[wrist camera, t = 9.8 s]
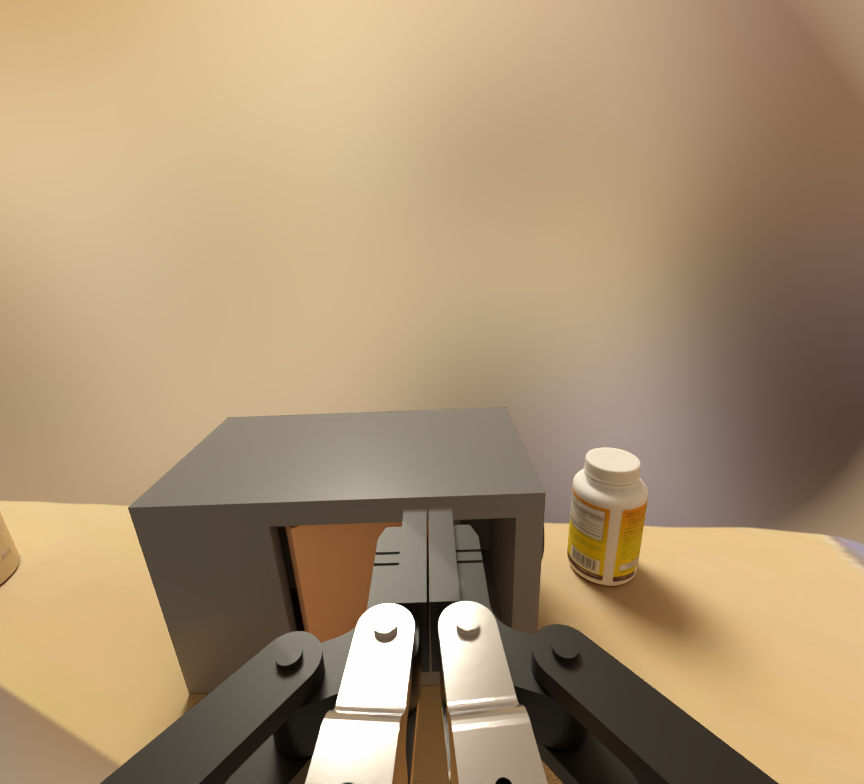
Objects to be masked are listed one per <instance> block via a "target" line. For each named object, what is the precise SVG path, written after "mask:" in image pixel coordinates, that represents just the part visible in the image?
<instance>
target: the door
mask: <svg viewBox="0 0 864 784" xmlns="http://www.w3.org/2000/svg"><path fill="white" fill-rule="evenodd" d="M453 525H460V520H453ZM285 527H286V533H287V538H288V544H289V549H290V554H291V560H292V565H293V571H294V576H295V582H296V587H297V592H298V598H299V603H300V609H301V614H302V620H303V625H304V630H305V632H308V633H311V634H313V635H314V636H316V637H317V638H318V640H319V641H320V643H322V642H325V641H328V640H331V639H334V638H337V637H339V636H342V635H344V634H346V633H348V632H350V631H351V630H352V629H354V628H355V627H356V626H357V624H358V621H359V620H360V618H361V617H362V615H363V614H364V613H365V612H366V610H367V605H368V599H369V592H370V586H371V580H372V573H373V567H374V561H375V555H376V548H377V541H378V538H379V537H380V535H381V534H382V533H383V531H384V530H385V529H386V527H402V522H383V523H355V524H327V525H298V526H285ZM427 528H428V555H429V521H427Z"/></svg>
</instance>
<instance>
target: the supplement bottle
mask: <svg viewBox="0 0 864 784" xmlns="http://www.w3.org/2000/svg"><path fill="white" fill-rule="evenodd" d="M640 465H641V464H640V461H639V460H638V458H637V457H635V456H634V455H633V454H631V453H629V452H626V451H624V450H620V449H616V448H596V449H593V450H590V451H589V452H588V453H587V455H586V459H585V465H584V469H583V470H581V471H579V472H578V473H577V474H576V475H575V477H574V480H573V485H572V500H571V513H570V526H569V538H568V552H567V553H568V560H569V562H570V564H571V566H572V567H573V569H574V570H575V571H576V572H577V573H578V574H579V575H581V576H582V577H584V578H585V579H587V580H589V581H591V582H594V583H597V584H601V585H607V586H616V585H621V584H624V583H627V582H628V581H630V580H631V579H632V578H633V577H634V576H635V574H636V571H637V566H638V559H639V553H640V546H641V540H642V533H643V526H644V519H645V513H646V506H647V499H648V489H647V487H646V485H645V483H644V482H643V481H642V480H641V479H640Z"/></svg>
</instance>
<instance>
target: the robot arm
mask: <svg viewBox="0 0 864 784" xmlns="http://www.w3.org/2000/svg"><path fill="white" fill-rule="evenodd" d="M19 562H20V556H19V553H18V551H17V549H16V547H15V544H14V542H13V540H12V538H11V536H10V533H9V531H8V529H7V527H6V525H5V522H4V520H3V517H2V515H1V513H0V584H2V583H3V582H4V581H5V580H6V579H7V578H8V577H9V576H10V575H11V574H12V573H13V572H14V571H15V569H16V568H17V566H18V564H19ZM429 604H430V630H431V656H432V672H440V698H441V714H442V724H443V734H444V743H445V753H446V763H447V773H448V783H449V784H548V783H547V779H546V776H545V772H544V769H543V765H542V761H541V759H542V760H543V762H544V763H545V764H546V765H547V766H548V767H549V768H550V769H551V770H552V771H553V773H554V774H555V775H556V776H557V777H558V778H559V779H560V780H561V781H562V782H563V783H564V784H778V783H777V782H776V781H775V780H773V779H772V778H771V777H769V776H768V775H767V774H765V773H764V772H763V771H761V770H760V769H759V768H758V767H756V766H755V765H754V764H752V763H751V762H750V761H748V760H747V759H746V758H744V757H743V756H742V755H741V754H739V753H738V752H737V751H735V750H734V749H733V748H731V747H730V746H729V745H727V744H726V743H725V742H724V741H722V740H721V739H720V738H718V737H717V736H716V735H714V734H713V733H712V732H711V731H709V730H708V729H707V728H705V727H704V726H703V725H701V724H700V723H699V722H697V721H696V720H695V719H694V718H692V717H691V716H690V715H688V714H687V713H686V712H684V711H683V710H682V709H680V708H679V707H678V706H677V705H675V704H674V703H673V702H671V701H670V700H669V699H667V698H666V697H665V696H663V695H662V694H661V693H660V692H658V691H657V690H656V689H654V688H653V687H652V686H650V685H649V684H648V683H647V682H645V681H644V680H643V679H641V678H640V677H639V676H637V675H636V674H635V673H633V672H632V671H631V670H630V669H628V668H627V667H626V666H624V665H623V664H622V663H620V662H619V661H618V660H616V659H615V658H614V657H613V656H611V655H610V654H609V653H607V652H606V651H605V650H603V649H602V648H601V647H599V646H598V645H597V644H596V643H594V642H593V641H592V640H590V639H589V638H588V637H586V636H585V635H584V634H582V633H581V632H579V631H578V630H576V629H574V628H572V627H569V626H565V625H559V624H555V625H549V626H546V627H543V628H542V629H540V630H539V631H538V632H537V633H536V635H531V634H527V633H524V632H520V631H517V630H514V629H512V628H510V627H508V626H506V625H505V624H503V623H502V622H501V621H500V620H499V619H498V618H497V617H496V616H495V614H494V613H493V611H492V609H491V606H490V602H489V596H488V590H487V584H486V578H485V572H484V566H483V562H482V555H481V549H480V543H479V537H478V535H477V534H476V532H475V531H474V530H473V528H472V527H471V526H470V525H453V516H452V508H442V509H429V555H428V528H427V509H412V510H403V521H402V527H386V529H385V530H384V531H383V533H382V534H381V535H380V537H379V538H378V541H377V548H376V555H375V561H374V567H373V573H372V580H371V586H370V592H369V599H368V605H367V610H366V612H365V613H364V614H363V615H362V617H361V618H360V620H359V621H358V624H357V626H356V627H355V628H354V629H352V630H351V631H350V632H348V633H346V634H344V635H342V636H339V637H337V638H334V639H331V640H328V641H325V642H322V643H320V641H319V640H318V638H317V637H316V636H314V635H313V634H311V633H308V632H304V631H295V632H290V633H287V634H284V635H282V636H280V637H278V638H276V639H275V640H274V641H272V642H271V643H270V644H269V645H267V646H266V647H265V648H264V649H263V650H261V651H260V652H259V653H258V654H256V655H255V656H254V657H253V658H252V659H250V660H249V661H248V662H247V663H246V664H244V665H243V666H242V667H241V668H239V669H238V670H237V671H236V672H235V673H233V674H232V675H231V676H230V677H229V678H227V679H226V680H225V681H224V682H223V683H221V684H220V685H219V686H218V687H216V688H215V689H214V690H213V691H212V692H210V693H209V694H208V695H207V696H206V697H204V698H203V699H202V700H201V701H200V702H198V703H197V704H196V705H195V706H193V707H192V708H191V709H190V710H189V711H187V712H186V713H185V714H184V715H183V716H181V717H180V718H179V719H178V720H177V721H175V722H174V723H173V724H172V725H170V726H169V727H168V728H167V729H166V730H164V731H163V732H162V733H161V734H160V735H158V736H157V737H156V738H155V739H154V740H152V741H151V742H150V743H149V744H147V745H146V746H145V747H144V748H143V749H141V750H140V751H139V752H138V753H137V754H135V755H134V756H133V757H132V758H131V759H129V760H128V761H127V762H126V763H124V764H123V765H122V766H121V767H120V768H118V769H117V770H116V771H115V772H114V773H112V774H111V775H110V776H109V777H107V778H106V779H105V780H104V781H103V782H102V783H100V784H304V783H305V784H412V782H413V771H414V759H415V748H416V736H417V725H418V714H419V699H420V695H421V672H429Z"/></svg>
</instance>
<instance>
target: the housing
mask: <svg viewBox="0 0 864 784" xmlns="http://www.w3.org/2000/svg"><path fill="white" fill-rule="evenodd" d="M442 508H452V516H453V520H460V525H470V526H471V527H472V528H473V530H474V531H475V532H476V534H477V535H478V537H479V543H480V549H481V555H482V562H483V566H484V572H485V578H486V584H487V590H488V596H489V602H490V606H491V609H492V611H493V613H494V614H495V616H496V617H497V618H498V619H499V620H500V621H501V622H502V623H503V624H505V625H506V626H508V627H510V628H512V629H514V630H517V631H520V632H524V633H527V634H531V635H536V633H537V621H538V605H539V590H540V574H541V561H542V558H543V552H544V510H545V490H544V488H543V486H542V484H541V482H540V480H539V478H538V475H537V473H536V471H535V469H534V466H533V464H532V462H531V460H530V458H529V456H528V453H527V451H526V449H525V447H524V445H523V443H522V440H521V438H520V436H519V434H518V431H517V429H516V427H515V425H514V423H513V421H512V419H511V416H510V414H509V412H508V410H507V408H506V407H499V408H473V409H445V410H421V411H420V410H419V411H418V410H417V411H393V412H391V411H390V412H363V413H336V414H309V415H282V416H256V417H228V418H227V419H226V420H225V421H224V422H223V423H222V424H220V425H219V426H218V427H217V428H216V429H215V430H214V431H213V432H212V433H210V434H209V435H208V436H207V437H206V438H205V439H204V440H203V441H202V442H201V443H199V444H198V445H197V446H196V447H195V448H194V449H193V450H192V451H191V452H189V453H188V454H187V455H186V456H185V457H184V458H183V459H182V460H180V461H179V462H178V463H177V464H176V465H175V466H174V467H173V468H172V469H171V470H169V471H168V472H167V473H166V474H165V475H164V476H163V477H162V478H161V479H159V480H158V481H157V482H156V483H155V484H154V485H153V486H152V487H150V488H149V489H148V490H147V491H146V492H145V493H144V494H143V495H142V496H141V497H139V498H138V499H137V500H136V501H135V502H134V503H133V504H132V505H131V506H129V507H128V509H129V512H130V515H131V518H132V521H133V524H134V527H135V530H136V533H137V536H138V539H139V543H140V546H141V549H142V552H143V555H144V558H145V561H146V564H147V567H148V570H149V573H150V576H151V579H152V582H153V585H154V588H155V591H156V594H157V597H158V600H159V603H160V606H161V609H162V613H163V616H164V619H165V622H166V625H167V628H168V631H169V634H170V637H171V640H172V643H173V646H174V649H175V652H176V655H177V658H178V661H179V664H180V667H181V670H182V673H183V676H184V679H185V682H186V686H187V689H188V692H189V693H210V692H212V691H213V690H214V689H215V688H216V687H218V686H219V685H220V684H221V683H223V682H224V681H225V680H226V679H227V678H229V677H230V676H231V675H232V674H233V673H235V672H236V671H237V670H238V669H239V668H241V667H242V666H243V665H244V664H246V663H247V662H248V661H249V660H250V659H252V658H253V657H254V656H255V655H256V654H258V653H259V652H260V651H261V650H263V649H264V648H265V647H266V646H267V645H269V644H270V643H271V642H272V641H274V640H275V639H276V638H278V637H280V636H282V635H284V634H287V633H290V632H295V631H304V632H305V630H304V625H303V620H302V614H301V609H300V603H299V598H298V592H297V587H296V582H295V576H294V571H293V565H292V560H291V554H290V549H289V544H288V538H287V533H286V527H285V526H298V525H327V524H355V523H383V522H402V521H403V510H412V509H427V521H429V509H442ZM426 685H440V672H432V656H431V630H430V604H429V672H421V686H426Z"/></svg>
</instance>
